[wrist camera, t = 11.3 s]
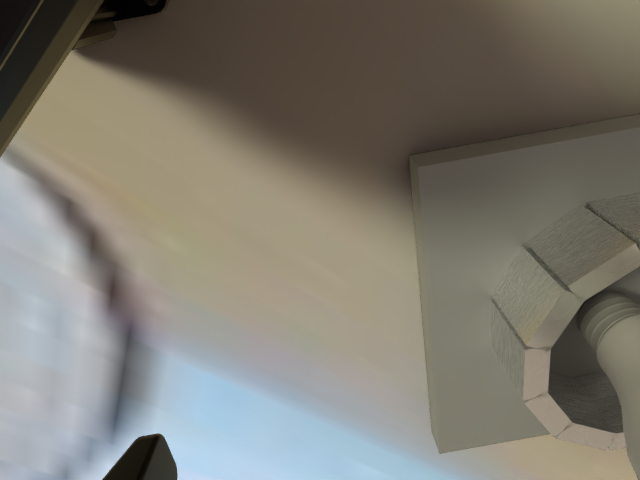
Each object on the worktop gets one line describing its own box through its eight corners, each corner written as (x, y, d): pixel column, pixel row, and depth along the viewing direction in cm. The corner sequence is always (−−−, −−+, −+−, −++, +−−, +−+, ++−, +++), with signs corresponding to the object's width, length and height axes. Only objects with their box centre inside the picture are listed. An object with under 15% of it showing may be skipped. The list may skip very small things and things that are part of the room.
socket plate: (408, 155, 20) (417, 167, 19) (796, 85, 20) (833, 92, 19) (431, 431, 28) (439, 453, 26) (717, 380, 28) (739, 400, 26)
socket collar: (489, 219, 20) (527, 260, 17) (745, 173, 20) (829, 206, 17) (490, 406, 25) (521, 466, 22) (697, 369, 25) (757, 424, 22)
